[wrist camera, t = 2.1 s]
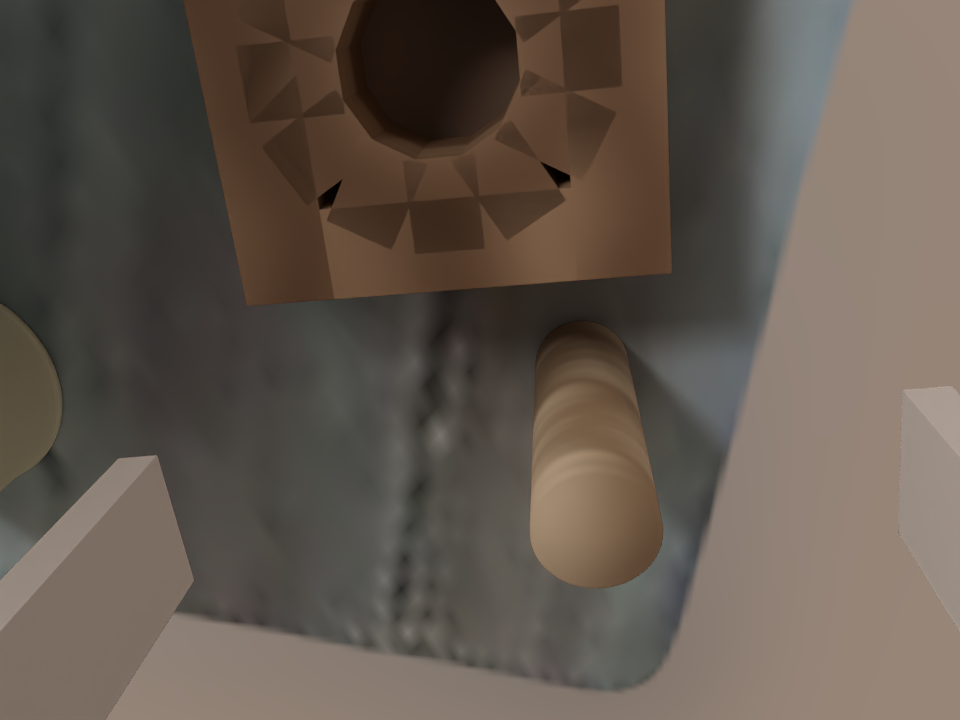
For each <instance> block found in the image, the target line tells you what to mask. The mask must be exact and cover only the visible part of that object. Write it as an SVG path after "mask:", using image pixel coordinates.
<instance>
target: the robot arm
mask: <svg viewBox="0 0 960 720" xmlns="http://www.w3.org/2000/svg"><path fill="white" fill-rule="evenodd" d="M901 425H902V426H901V457H900V458H901V459H900V490H899V494H900V495H899V524H898V526H899V527H898V533H899V535H900V536H901V538H902V540H903V541H904V543H905V544H906V546H907V548H908V549H909V551H910V553H911V554H912V556H913V557H914V559H915V561H916V562H917V564H918V565H919V567H920V569H921V570H922V572H923V574H924V575H925V577H926V578H927V580H928V582H929V583H930V585H931V587H932V588H933V590H934V591H935V593H936V594H937V596H938V598H939V599H940V601H941V603H942V604H943V606H944V608H945V609H946V611H947V613H948V614H949V616H950V617H951V619H952V621H953V622H954V624H955V625H956V627H957V629H958V630H959V632H960V394H959V393H958V392H957V391H956V390H955V389H954V388H953V387H952V386H944V387H932V388H921V389H909V390H902V423H901ZM193 582H194V578H193V575H192V571H191V568H190V565H189V561H188V558H187V554H186V551H185V548H184V544H183V541H182V538H181V534H180V531H179V527H178V524H177V521H176V517H175V514H174V510H173V507H172V504H171V500H170V497H169V493H168V490H167V487H166V483H165V480H164V477H163V473H162V470H161V466H160V463H159V460H158V456H157V455H153V456H141V457H130V458H118V459H117V460H116V461H115V462H114V464H113V465H112V466H111V467H110V468H109V469H108V470H107V471H106V472H105V473H104V474H103V475H102V476H101V477H100V478H99V479H98V480H97V481H96V482H95V483H94V484H93V485H92V486H91V487H90V488H89V489H88V490H87V491H86V492H85V493H84V494H83V496H82V497H81V498H80V499H79V500H78V501H77V502H76V503H75V504H74V505H73V506H72V507H71V508H70V509H69V510H68V511H67V512H66V513H65V514H64V515H63V516H62V517H61V518H60V519H59V520H58V521H57V522H56V523H55V524H54V525H53V527H52V528H51V529H50V530H49V531H48V532H47V533H46V534H45V535H44V536H43V537H42V538H41V539H40V540H39V541H38V542H37V543H36V544H35V545H34V546H33V547H32V548H31V549H30V550H29V551H28V552H27V553H26V554H25V555H24V556H23V557H22V559H21V560H20V561H19V562H18V563H17V564H16V565H15V566H14V567H13V568H12V569H11V570H10V571H9V572H8V573H7V574H6V575H5V576H4V577H3V578H2V579H1V580H0V720H106V718H107V717H108V715H109V714H110V712H111V710H112V709H113V707H114V706H115V704H116V703H117V701H118V699H119V698H120V696H121V695H122V693H123V692H124V690H125V688H126V687H127V685H128V684H129V682H130V681H131V679H132V678H133V676H134V674H135V673H136V671H137V670H138V668H139V666H140V665H141V663H142V662H143V660H144V659H145V657H146V656H147V654H148V652H149V651H150V649H151V648H152V646H153V645H154V643H155V641H156V640H157V638H158V637H159V635H160V633H161V632H162V630H163V629H164V627H165V626H166V624H167V623H168V621H169V619H170V618H171V616H172V615H173V613H174V612H175V610H176V608H177V607H178V605H179V604H180V602H181V601H182V599H183V597H184V596H185V594H186V593H187V591H188V590H189V588H190V586H191V585H192V583H193Z"/></svg>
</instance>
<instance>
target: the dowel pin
mask: <svg viewBox="0 0 960 720" xmlns="http://www.w3.org/2000/svg"><path fill="white" fill-rule="evenodd" d="M530 540H531V545H532V548H533V551H534V553H535V555H536V557H537V558H538V560H539V561H540V563H541V564H542V565H543V566H544V567H545V568H546V569H547V570H548V571H549V572H550V573H551V574H553V575H554V576H556V577H557V578H559V579H561V580H563V581H565V582H567V583H570V584H573V585H576V586H580V587H586V588H607V587H613V586H617V585H620V584H623V583H626V582H628V581H630V580H632V579H634V578H635V577H637V576H639V575H640V574H641V573H642V572H644V571H645V570H646V569H647V568H648V567H649V566H650V565H651V564H652V562H653V561H654V560H655V558H656V556H657V554H658V552H659V550H660V547H661V545H662V540H663V523H662V518H661V513H660V508H659V504H658V499H657V494H656V489H655V485H654V480H653V475H652V470H651V466H650V461H649V456H648V451H647V447H646V442H645V437H644V432H643V428H642V423H641V418H640V413H639V408H638V404H637V399H636V394H635V389H634V385H633V380H632V375H631V370H630V366H629V361H628V356H627V352H626V349H625V347H624V345H623V343H622V341H621V340H620V338H619V337H618V336H617V335H616V334H615V333H614V332H613V331H611V330H610V329H609V328H607V327H605V326H603V325H601V324H598V323H595V322H590V321H575V322H570V323H567V324H564V325H562V326H560V327H558V328H556V329H555V330H553V331H552V332H551V333H550V334H549V335H548V336H547V337H546V338H545V339H544V340H543V342H542V343H541V345H540V347H539V350H538V353H537V356H536V370H535V398H534V426H533V454H532V482H531V509H530Z"/></svg>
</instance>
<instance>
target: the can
mask: <svg viewBox="0 0 960 720" xmlns="http://www.w3.org/2000/svg"><path fill="white" fill-rule="evenodd" d="M62 410H63V405H62V392H61V386H60V382H59V379H58V375H57V372H56V369H55V367H54V365H53V363H52V360H51V358H50V356H49V354H48V353H47V351H46V349H45V347H44V346H43V344H42V343H41V342H40V340H39V339H38V337H37V336H36V335H35V334H34V332H33V331H32V330H31V329H30V328H29V327H28V326H27V325H26V324H25V323H24V322H23V321H22V320H21V319H20V318H19V317H18V316H17V315H16V314H14V313H13V312H12V311H11V310H10V309H8V308H7V307H6V306H4V305H3V304H1V303H0V492H1V491H2V490H3V489H4V488H5V487H6V486H7V485H8V484H10V483H11V482H12V481H13V480H14V479H15V478H17V477H18V476H19V475H21V474H23V473H25V472H26V471H28V470H29V469H31V468H32V467H34V466H35V465H36V464H37V463H38V462H39V461H40V460H41V459H42V458H43V457H44V456H45V455H46V454H47V452H48V451H49V449H50V448H51V447H52V445H53V443H54V441H55V439H56V436H57V434H58V431H59V428H60V424H61V419H62Z"/></svg>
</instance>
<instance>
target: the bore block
mask: <svg viewBox="0 0 960 720" xmlns="http://www.w3.org/2000/svg"><path fill="white" fill-rule="evenodd" d="M183 1H184V6H185V11H186V16H187V21H188V25H189V30H190V35H191V40H192V45H193V50H194V54H195V59H196V64H197V69H198V74H199V78H200V83H201V88H202V93H203V98H204V102H205V107H206V112H207V117H208V122H209V126H210V131H211V136H212V141H213V146H214V150H215V155H216V160H217V165H218V170H219V174H220V179H221V184H222V189H223V194H224V199H225V203H226V208H227V213H228V218H229V223H230V227H231V232H232V237H233V242H234V247H235V251H236V256H237V261H238V266H239V271H240V275H241V280H242V285H243V290H244V295H245V299H246V304H247V306H253V305H266V304H279V303H292V302H305V301H318V300H331V299H343V298H356V297H369V296H382V295H395V294H408V293H421V292H434V291H447V290H460V289H473V288H486V287H499V286H512V285H525V284H538V283H551V282H563V281H576V280H589V279H602V278H615V277H628V276H641V275H654V274H667V273H672V259H671V221H670V182H669V143H668V104H667V66H666V27H665V0H183Z"/></svg>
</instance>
